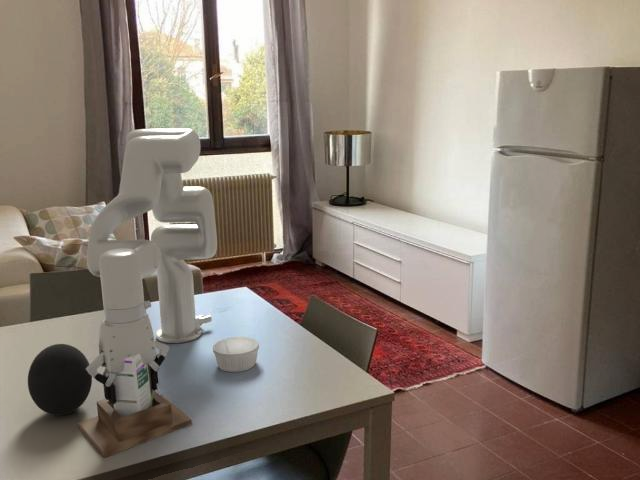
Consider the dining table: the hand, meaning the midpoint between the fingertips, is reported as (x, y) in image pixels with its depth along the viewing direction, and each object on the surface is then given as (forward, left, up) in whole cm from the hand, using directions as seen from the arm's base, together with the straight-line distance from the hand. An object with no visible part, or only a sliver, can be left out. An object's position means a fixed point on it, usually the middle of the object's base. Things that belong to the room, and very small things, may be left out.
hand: (132, 394), depth 120 cm
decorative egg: (+9, -15, -7) cm, 19 cm away
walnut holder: (0, 0, -7) cm, 7 cm away
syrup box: (0, 0, -5) cm, 5 cm away
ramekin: (-31, -11, -7) cm, 34 cm away
